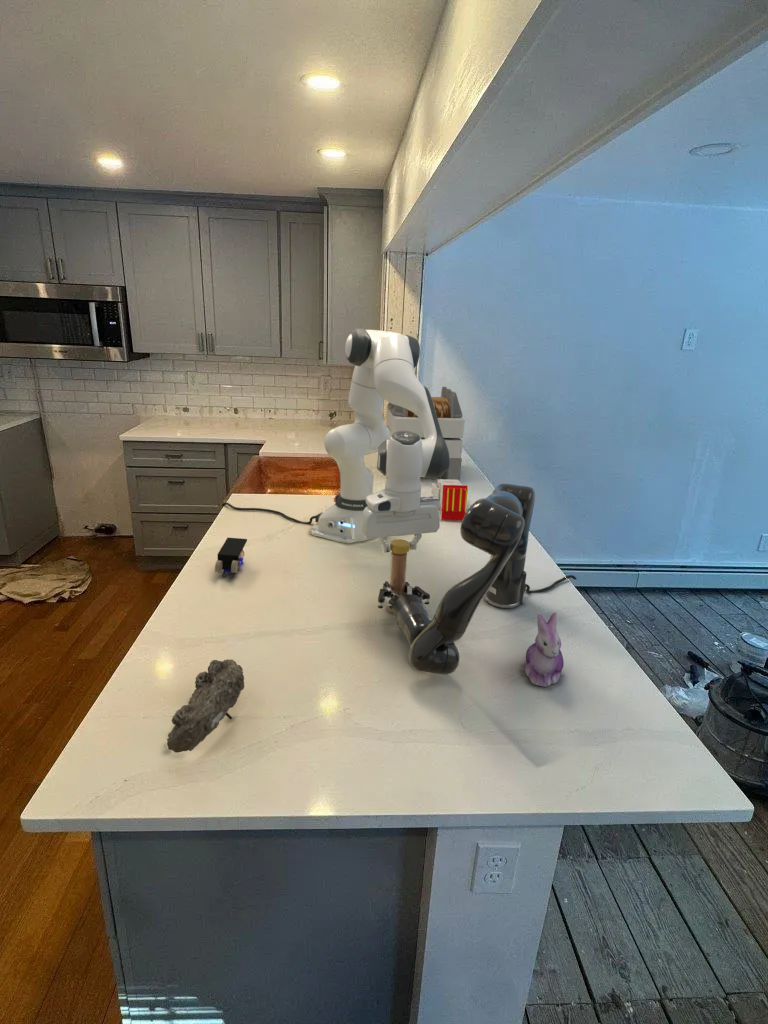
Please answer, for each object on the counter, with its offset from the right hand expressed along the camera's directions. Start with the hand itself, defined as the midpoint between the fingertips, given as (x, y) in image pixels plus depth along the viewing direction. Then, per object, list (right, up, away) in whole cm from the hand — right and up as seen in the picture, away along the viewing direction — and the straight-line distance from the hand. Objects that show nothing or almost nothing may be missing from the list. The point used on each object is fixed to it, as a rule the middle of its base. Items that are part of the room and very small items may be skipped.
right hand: (394, 584), depth 150 cm
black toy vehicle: (-48, +2, +17) cm, 51 cm away
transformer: (+14, +38, +125) cm, 131 cm away
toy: (+23, +20, +77) cm, 83 cm away
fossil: (-36, -20, -42) cm, 59 cm away
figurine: (+32, -17, -25) cm, 44 cm away
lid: (+1, +11, -7) cm, 13 cm away
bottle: (0, -7, 0) cm, 7 cm away
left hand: (+1, +9, -6) cm, 11 cm away
